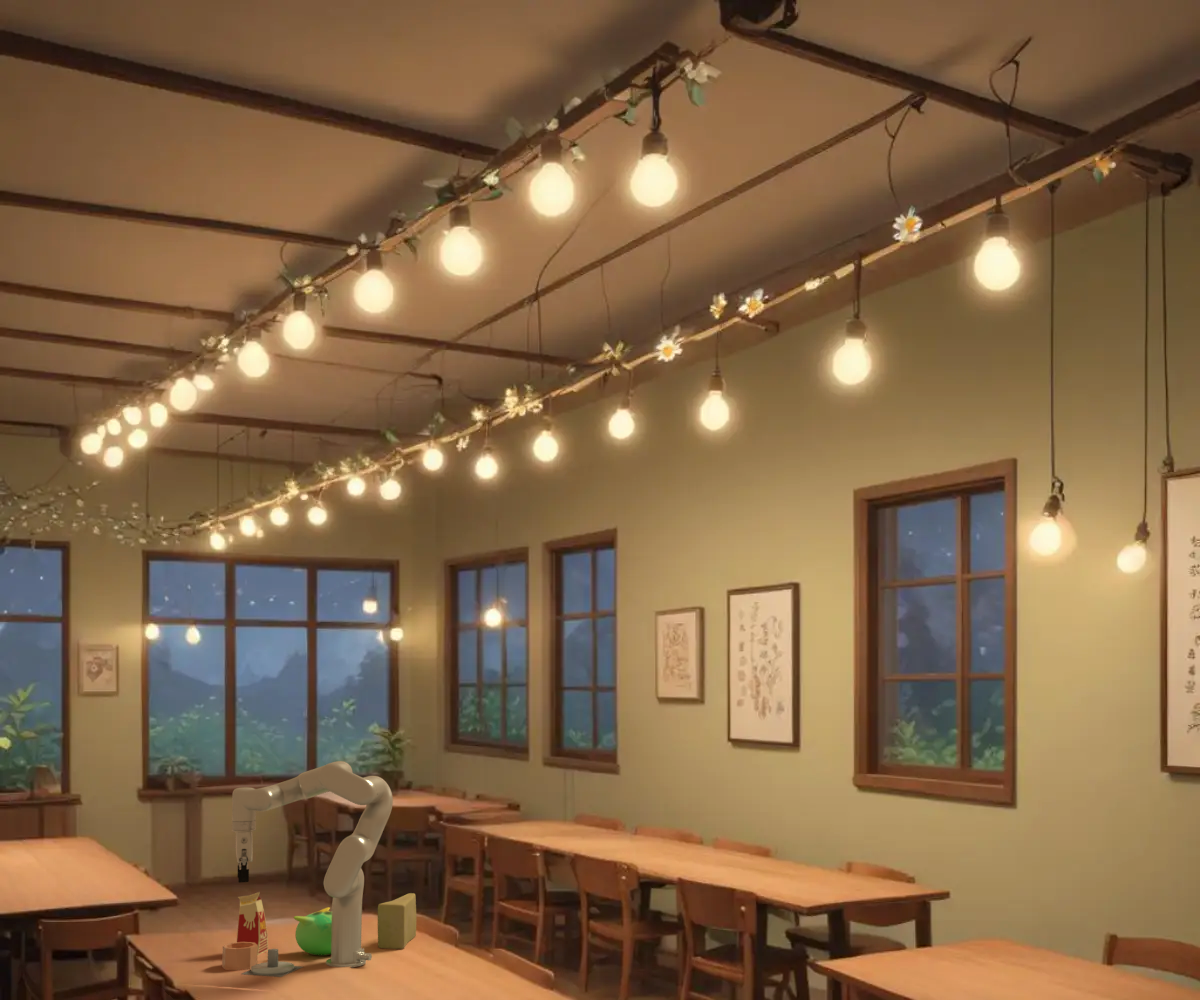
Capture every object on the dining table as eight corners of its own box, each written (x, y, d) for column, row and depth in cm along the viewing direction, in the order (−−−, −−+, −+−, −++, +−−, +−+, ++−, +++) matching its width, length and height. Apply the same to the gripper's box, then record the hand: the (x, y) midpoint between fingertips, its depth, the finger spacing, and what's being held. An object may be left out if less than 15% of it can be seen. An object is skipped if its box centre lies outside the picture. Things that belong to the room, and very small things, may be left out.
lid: (301, 966, 415) (302, 946, 416) (280, 976, 403) (280, 955, 403) (265, 964, 419) (265, 944, 420) (242, 973, 406) (243, 953, 407)
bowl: (262, 965, 420) (262, 943, 420) (244, 972, 410) (245, 949, 411) (234, 963, 423) (235, 941, 423) (216, 970, 413) (217, 947, 414)
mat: (303, 968, 415) (303, 966, 415) (280, 978, 402) (280, 976, 402) (264, 965, 419) (264, 963, 419) (240, 975, 406) (240, 973, 406)
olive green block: (401, 935, 465) (401, 891, 467) (426, 936, 463) (427, 892, 465) (376, 948, 444) (376, 903, 446) (403, 949, 442) (403, 903, 443)
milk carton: (268, 951, 441) (269, 889, 443) (258, 957, 432) (260, 894, 434) (242, 950, 442) (243, 889, 444) (231, 956, 433) (233, 894, 435)
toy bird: (356, 949, 442) (356, 904, 444) (341, 961, 425) (342, 914, 427) (303, 949, 444) (304, 904, 445) (287, 960, 427) (288, 913, 429)
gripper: (256, 828, 423) (256, 883, 421) (254, 822, 440) (253, 875, 438) (232, 829, 421) (231, 884, 419) (231, 823, 438) (230, 876, 436)
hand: (243, 879), depth 428 cm, fingers open, 9 cm apart
